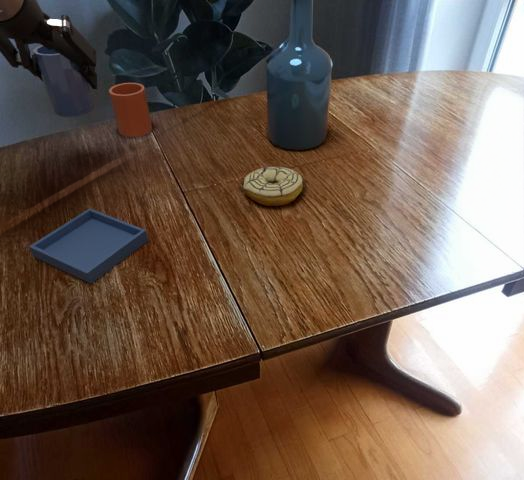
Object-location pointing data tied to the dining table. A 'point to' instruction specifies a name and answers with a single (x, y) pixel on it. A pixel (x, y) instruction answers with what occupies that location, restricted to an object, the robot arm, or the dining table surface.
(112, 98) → the terracotta cup
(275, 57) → the wine bottle
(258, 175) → the decorated donut
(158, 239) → the dining table surface
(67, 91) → the blue cup
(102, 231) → the blue tray
